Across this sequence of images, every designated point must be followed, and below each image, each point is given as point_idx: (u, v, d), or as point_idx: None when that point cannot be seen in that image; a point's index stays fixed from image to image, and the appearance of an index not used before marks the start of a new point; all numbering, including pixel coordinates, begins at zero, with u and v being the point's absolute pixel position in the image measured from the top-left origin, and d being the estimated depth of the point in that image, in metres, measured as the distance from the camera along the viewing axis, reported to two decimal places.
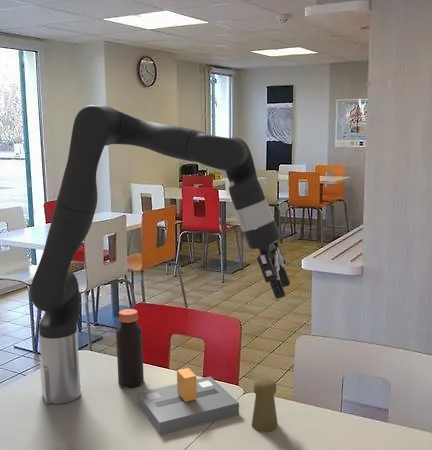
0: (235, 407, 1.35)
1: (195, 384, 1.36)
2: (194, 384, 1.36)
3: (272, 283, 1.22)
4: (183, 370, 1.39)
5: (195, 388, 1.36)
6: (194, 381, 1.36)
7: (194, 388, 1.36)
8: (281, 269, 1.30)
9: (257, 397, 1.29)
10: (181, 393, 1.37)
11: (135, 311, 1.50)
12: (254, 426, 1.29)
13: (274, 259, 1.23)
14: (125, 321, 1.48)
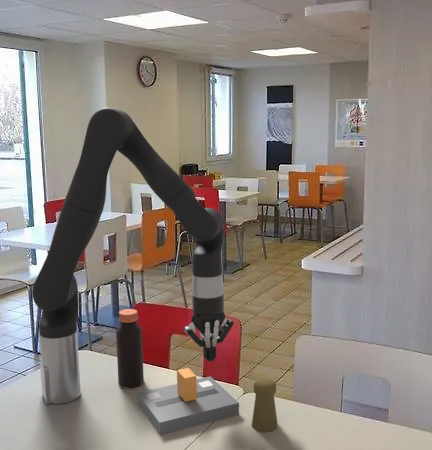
0: (235, 407, 1.35)
1: (195, 384, 1.36)
2: (194, 384, 1.36)
3: (203, 346, 1.38)
4: (183, 370, 1.39)
5: (195, 388, 1.36)
6: (194, 381, 1.36)
7: (194, 388, 1.36)
8: (210, 345, 1.38)
9: (257, 397, 1.29)
10: (181, 393, 1.37)
11: (135, 311, 1.50)
12: (254, 426, 1.29)
13: (204, 330, 1.36)
14: (125, 321, 1.48)
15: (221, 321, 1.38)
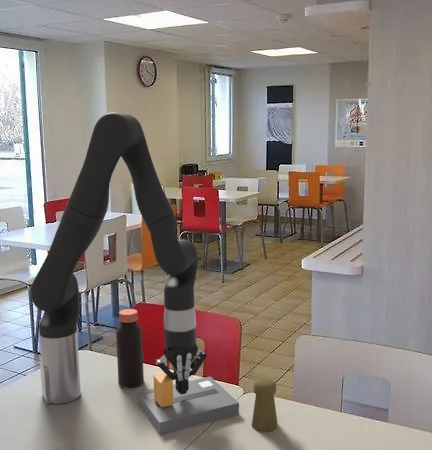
0: (235, 407, 1.35)
1: (171, 389, 1.33)
2: (170, 389, 1.33)
3: None
4: (160, 375, 1.36)
5: (171, 393, 1.33)
6: (170, 386, 1.33)
7: (170, 393, 1.33)
8: (183, 377, 1.37)
9: (257, 397, 1.29)
10: (157, 398, 1.35)
11: (135, 311, 1.50)
12: (254, 426, 1.29)
13: (176, 363, 1.34)
14: (125, 321, 1.48)
15: (194, 354, 1.36)
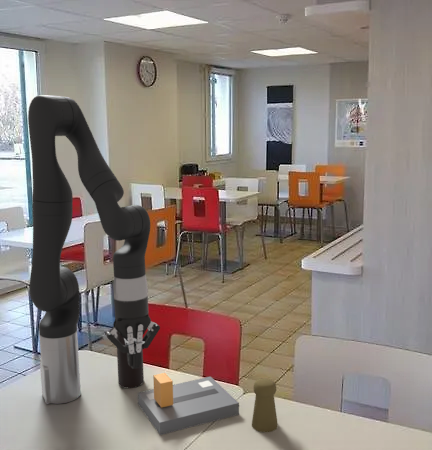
0: (235, 407, 1.35)
1: (171, 389, 1.33)
2: (170, 389, 1.33)
3: (127, 352, 1.30)
4: (160, 375, 1.36)
5: (171, 393, 1.33)
6: (170, 386, 1.33)
7: (170, 393, 1.33)
8: (135, 350, 1.30)
9: (257, 397, 1.29)
10: (157, 398, 1.35)
11: None
12: (254, 426, 1.29)
13: (127, 335, 1.28)
14: None
15: (146, 325, 1.29)
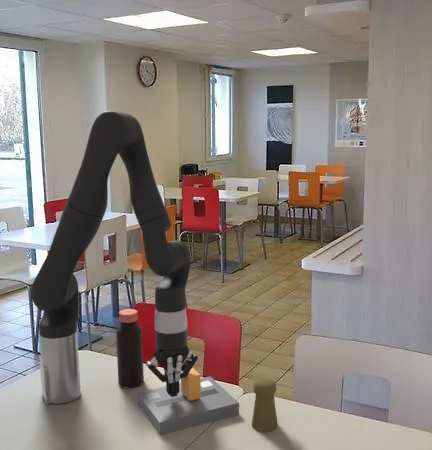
0: (235, 407, 1.35)
1: (199, 383, 1.36)
2: (198, 383, 1.36)
3: (166, 381, 1.35)
4: None
5: (199, 387, 1.36)
6: (198, 380, 1.36)
7: (198, 387, 1.36)
8: (174, 379, 1.35)
9: (257, 397, 1.29)
10: (185, 392, 1.38)
11: (135, 311, 1.50)
12: (254, 426, 1.29)
13: (166, 365, 1.33)
14: (125, 321, 1.48)
15: (185, 356, 1.35)
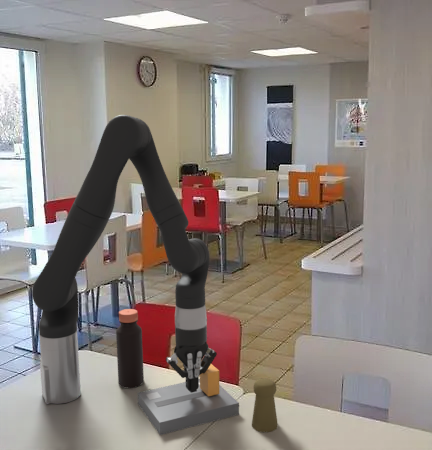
0: (235, 407, 1.35)
1: (218, 379, 1.38)
2: (217, 379, 1.38)
3: None
4: None
5: (218, 383, 1.39)
6: (217, 376, 1.38)
7: (217, 383, 1.38)
8: (193, 375, 1.37)
9: (257, 397, 1.29)
10: (204, 388, 1.40)
11: (135, 311, 1.50)
12: (254, 426, 1.29)
13: (186, 361, 1.35)
14: (125, 321, 1.48)
15: (204, 352, 1.37)
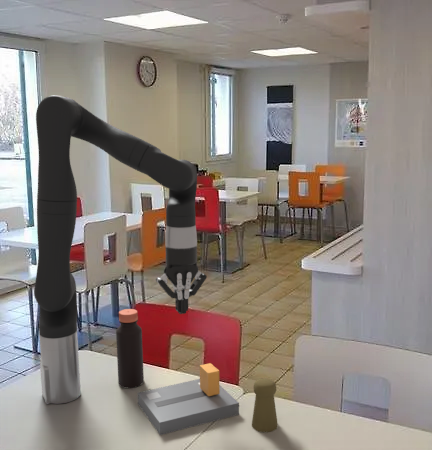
0: (235, 407, 1.35)
1: (218, 379, 1.38)
2: (217, 379, 1.38)
3: (175, 298, 1.39)
4: (206, 365, 1.41)
5: (218, 383, 1.39)
6: (217, 376, 1.38)
7: (217, 383, 1.38)
8: (183, 297, 1.39)
9: (257, 397, 1.29)
10: (204, 388, 1.40)
11: (135, 311, 1.50)
12: (254, 426, 1.29)
13: (176, 282, 1.36)
14: (125, 321, 1.48)
15: (194, 274, 1.38)
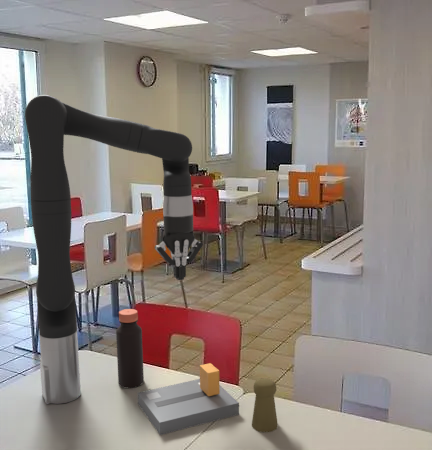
0: (235, 407, 1.35)
1: (218, 379, 1.38)
2: (217, 379, 1.38)
3: (173, 265, 1.46)
4: (206, 365, 1.41)
5: (218, 383, 1.39)
6: (217, 376, 1.38)
7: (217, 383, 1.38)
8: (180, 264, 1.46)
9: (257, 397, 1.29)
10: (204, 388, 1.40)
11: (135, 311, 1.50)
12: (254, 426, 1.29)
13: (174, 249, 1.43)
14: (125, 321, 1.48)
15: (191, 241, 1.45)
